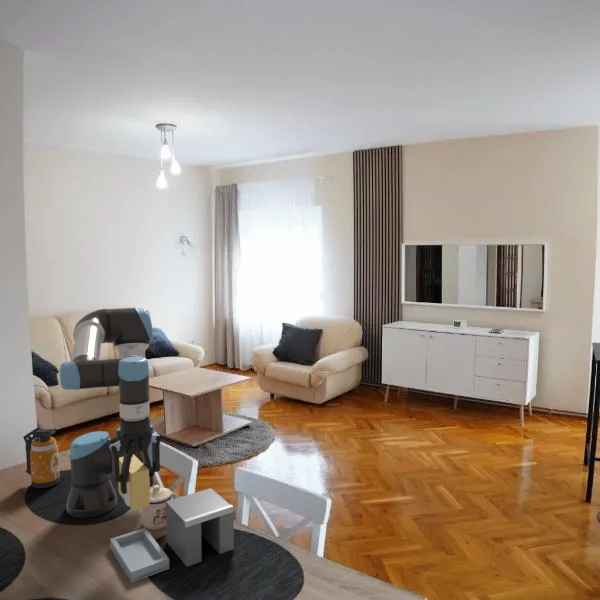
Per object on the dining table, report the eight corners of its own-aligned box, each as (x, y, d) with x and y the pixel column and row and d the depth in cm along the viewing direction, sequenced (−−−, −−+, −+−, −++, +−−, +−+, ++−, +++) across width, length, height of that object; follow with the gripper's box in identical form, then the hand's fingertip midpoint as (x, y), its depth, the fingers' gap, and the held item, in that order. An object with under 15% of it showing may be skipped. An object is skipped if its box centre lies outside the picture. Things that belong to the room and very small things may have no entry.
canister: (52, 490, 180) (49, 433, 178) (20, 489, 180) (17, 433, 178) (64, 478, 189) (62, 424, 187) (33, 477, 189) (31, 424, 187)
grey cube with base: (166, 542, 150) (165, 500, 148) (211, 526, 158) (210, 486, 156) (186, 566, 138) (185, 521, 137) (233, 549, 147) (233, 506, 145)
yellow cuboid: (118, 492, 146) (117, 458, 145) (134, 488, 149) (133, 454, 148) (132, 510, 137) (131, 473, 135) (149, 505, 139) (148, 469, 138)
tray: (110, 548, 146) (110, 538, 146) (145, 536, 152) (145, 527, 152) (131, 582, 132) (131, 572, 132) (169, 568, 138) (169, 558, 137)
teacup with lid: (154, 534, 154) (153, 496, 152) (135, 524, 159) (134, 487, 158) (186, 517, 163) (185, 481, 162) (167, 508, 169) (166, 473, 167)
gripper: (104, 427, 129) (107, 517, 132) (172, 414, 140) (174, 497, 142) (96, 419, 135) (99, 504, 138) (161, 406, 146) (163, 486, 148)
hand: (137, 500), depth 140 cm, fingers closed on yellow cuboid, 4 cm apart
